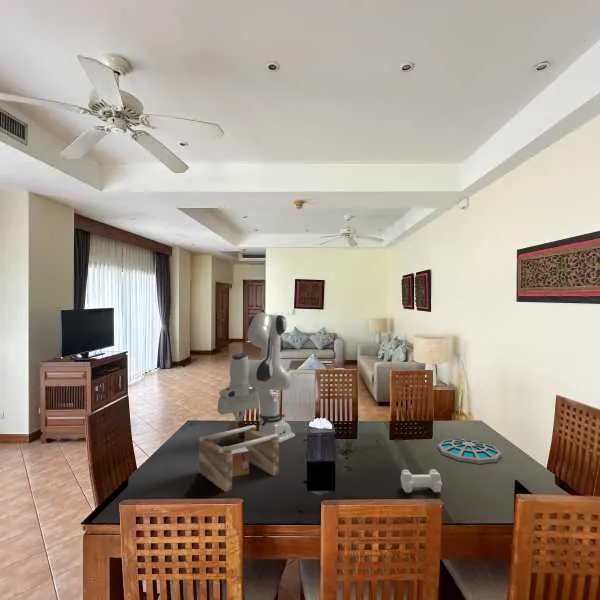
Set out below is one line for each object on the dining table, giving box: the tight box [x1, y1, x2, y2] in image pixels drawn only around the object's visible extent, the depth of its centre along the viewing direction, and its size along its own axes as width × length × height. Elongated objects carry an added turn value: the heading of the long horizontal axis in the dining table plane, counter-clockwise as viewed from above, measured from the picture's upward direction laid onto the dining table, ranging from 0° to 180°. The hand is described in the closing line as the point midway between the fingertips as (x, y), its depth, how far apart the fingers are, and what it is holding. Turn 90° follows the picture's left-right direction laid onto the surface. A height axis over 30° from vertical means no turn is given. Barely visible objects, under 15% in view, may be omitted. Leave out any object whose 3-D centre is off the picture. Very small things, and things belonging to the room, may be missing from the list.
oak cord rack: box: [198, 424, 280, 493], centre depth 174 cm, size 27×24×16 cm
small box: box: [231, 447, 250, 478], centre depth 174 cm, size 8×6×10 cm
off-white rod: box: [219, 434, 278, 453], centre depth 167 cm, size 30×2×2 cm, turn 130°
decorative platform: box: [437, 438, 503, 465], centre depth 200 cm, size 31×29×5 cm
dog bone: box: [400, 468, 443, 494], centre depth 158 cm, size 15×9×8 cm, turn 91°
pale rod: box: [198, 424, 257, 443], centre depth 181 cm, size 30×2×2 cm, turn 130°
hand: (239, 420), depth 174 cm, fingers closed
